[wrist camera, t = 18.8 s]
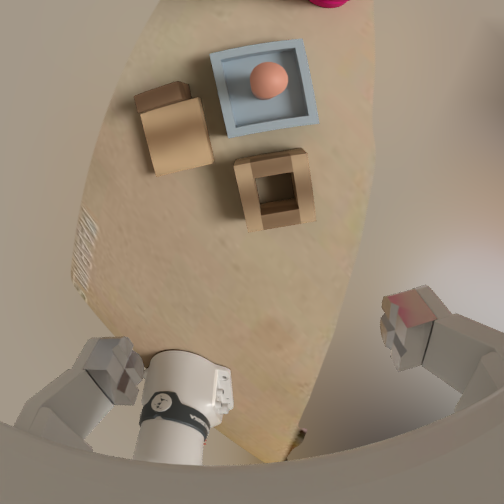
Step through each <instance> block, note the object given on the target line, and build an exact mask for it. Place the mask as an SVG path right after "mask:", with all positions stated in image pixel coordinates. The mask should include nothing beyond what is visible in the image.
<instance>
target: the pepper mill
mask: <svg viewBox="0 0 504 504" xmlns="http://www.w3.org/2000/svg"><path fill="white" fill-rule="evenodd" d="M309 1H310V2H312V3H313V4H316V5H318V6H321V7H326V8H335V7H339V6H341V5H343V4H344V3H346V2H347V1H349V0H309Z"/></svg>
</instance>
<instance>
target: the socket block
mask: <svg viewBox="0 0 504 504" xmlns="http://www.w3.org/2000/svg"><path fill="white" fill-rule="evenodd" d="M234 171H235V175H236V180H237V184H238V189H239V193H240V197H241V202H242V206H243V211H244V215H245V220H246V224H247V229H248V233H249V232H255V231H260V230H266V229H272V228H278V227H284V226H289V225H295V224H301V223H307V222H314V221H316V214H315V206H314V198H313V190H312V182H311V175H310V168H309V161H308V155H307V153H306V152H305V151H304V150H303V149H302V148H299V149H292V150H286V151H280V152H274V153H268V154H262V155H257V156H251V157H246V158H241V159H236V161H235V163H234ZM289 172H291V178H292V184H293V190H294V197H295V198H293V199H287V200H281V201H275V202H269V203H264V204H260V200H259V195H258V190H257V185H256V180H255V178H260V177H265V176H271V175H277V174H283V173H289Z"/></svg>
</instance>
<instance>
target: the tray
mask: <svg viewBox="0 0 504 504" xmlns="http://www.w3.org/2000/svg"><path fill="white" fill-rule="evenodd" d="M209 55H210V59H211V64H212V68H213V72H214V77H215V81H216V86H217V90H218V95H219V99H220V104H221V108H222V112H223V117H224V121H225V126H226V130H227V135H228V138H233V137H238V136H243V135H248V134H253V133H258V132H264V131H270V130H276V129H282V128H289V127H296V126H303V125H311V124H319V118H318V113H317V107H316V101H315V96H314V90H313V85H312V80H311V75H310V70H309V65H308V61H307V56H306V52H305V47H304V43H303V39H293V40H284V41H276V42H268V43H262V44H255V45H249V46H244V47H239V48H234V49H229V50H224V51H220V52H215V53H211V54H209ZM264 62H273V63H277V64H279V65H280V66H282V67H283V68H284V69H285V71H286V73H287V75H288V84H287V87H286V88H285V90H284V91H283V92H282V93H280V94H279V95H277V96H275V97H273V98H271V99H269V100H261V99H258V98H256V97H255V96H254V95H253V93H252V91H251V85H250V74H251V72H252V70H253V69H254V68H255V67H256V66H257V65H259V64H261V63H264Z"/></svg>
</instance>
